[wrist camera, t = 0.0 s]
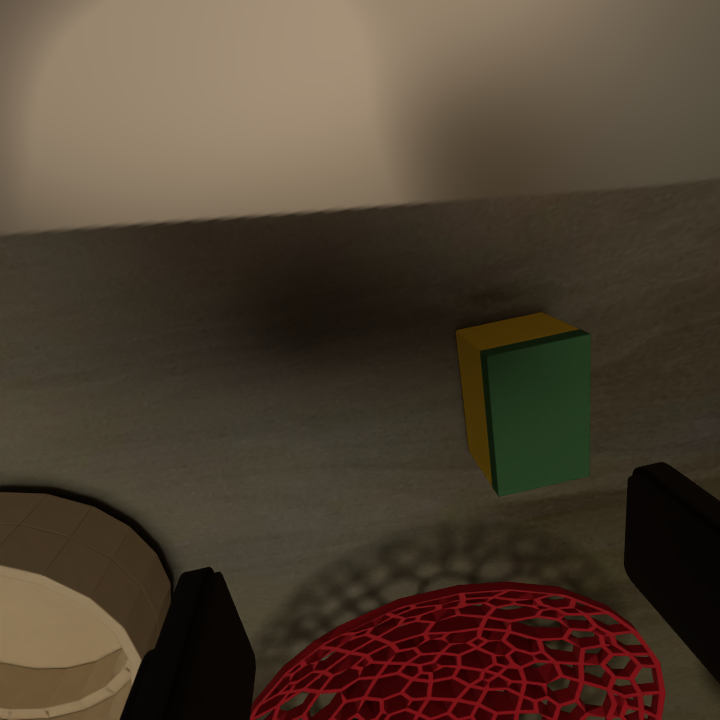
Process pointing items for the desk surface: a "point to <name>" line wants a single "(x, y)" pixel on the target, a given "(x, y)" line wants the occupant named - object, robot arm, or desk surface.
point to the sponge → (527, 400)
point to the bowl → (466, 661)
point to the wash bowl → (73, 609)
